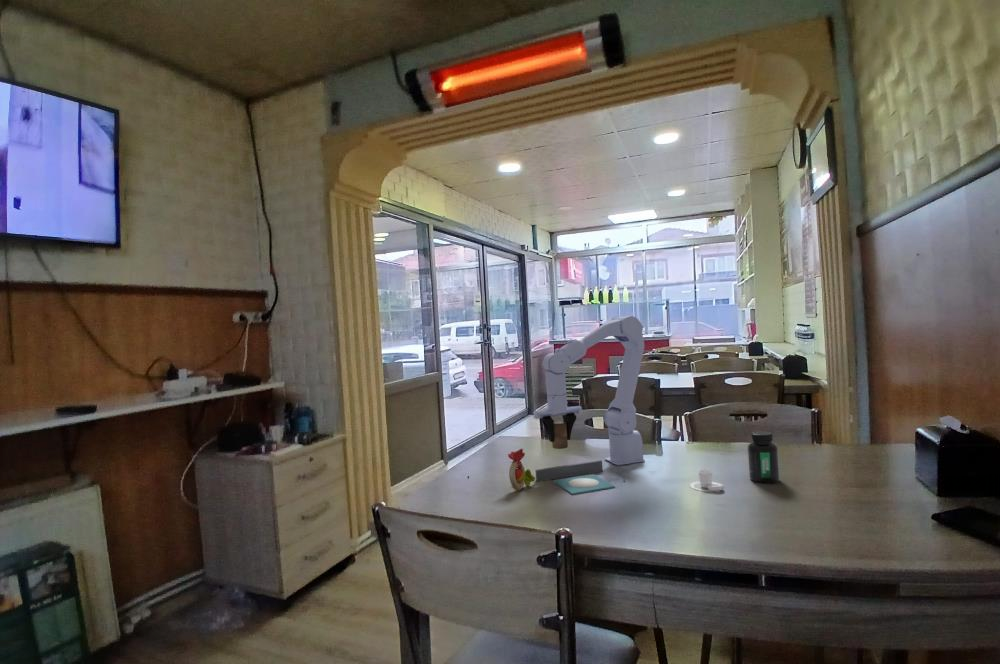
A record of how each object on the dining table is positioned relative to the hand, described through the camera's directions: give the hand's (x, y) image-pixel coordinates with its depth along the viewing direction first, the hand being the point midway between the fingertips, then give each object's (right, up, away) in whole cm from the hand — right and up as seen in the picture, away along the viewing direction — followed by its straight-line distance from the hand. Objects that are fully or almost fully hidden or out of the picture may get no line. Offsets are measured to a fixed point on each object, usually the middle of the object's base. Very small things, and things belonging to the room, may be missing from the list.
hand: (559, 440), depth 152 cm
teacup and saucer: (+32, -8, -24) cm, 41 cm away
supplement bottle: (+50, -6, -20) cm, 54 cm away
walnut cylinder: (0, -2, 0) cm, 2 cm away
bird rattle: (-12, -10, -14) cm, 21 cm away
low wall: (+2, -9, -6) cm, 11 cm away
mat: (+5, -9, -14) cm, 17 cm away
